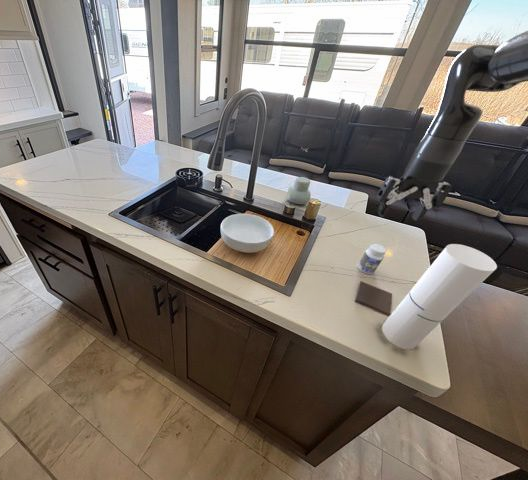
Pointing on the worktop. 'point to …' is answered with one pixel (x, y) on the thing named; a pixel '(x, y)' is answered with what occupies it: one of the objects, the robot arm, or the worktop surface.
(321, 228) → the worktop surface
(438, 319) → the cylindrical container
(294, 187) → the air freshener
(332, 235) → the worktop surface
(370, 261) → the pill bottle
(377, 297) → the plate
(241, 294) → the worktop surface
